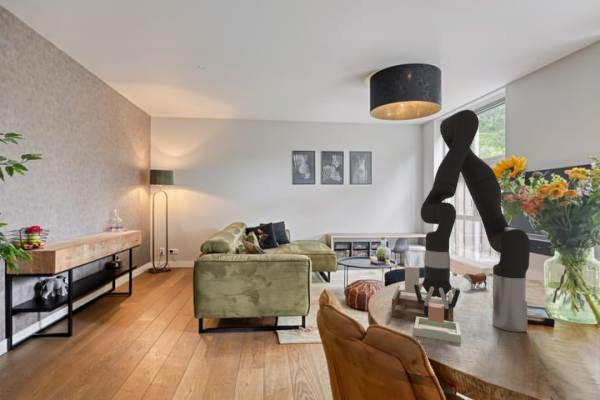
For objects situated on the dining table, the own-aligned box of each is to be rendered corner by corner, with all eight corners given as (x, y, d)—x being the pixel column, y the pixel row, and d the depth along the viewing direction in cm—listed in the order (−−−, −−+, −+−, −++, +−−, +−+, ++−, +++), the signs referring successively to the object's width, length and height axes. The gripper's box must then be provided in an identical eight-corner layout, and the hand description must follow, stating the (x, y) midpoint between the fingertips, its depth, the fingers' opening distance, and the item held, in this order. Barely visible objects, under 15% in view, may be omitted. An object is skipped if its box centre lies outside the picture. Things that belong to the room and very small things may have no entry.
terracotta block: (443, 318, 103) (444, 304, 103) (443, 323, 99) (444, 308, 99) (428, 316, 105) (429, 302, 105) (428, 320, 101) (428, 306, 101)
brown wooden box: (451, 308, 125) (451, 291, 125) (453, 326, 107) (453, 307, 107) (398, 301, 133) (398, 286, 133) (391, 317, 115) (391, 299, 115)
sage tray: (458, 329, 104) (458, 322, 104) (460, 343, 94) (460, 335, 94) (416, 323, 109) (416, 316, 109) (414, 335, 99) (414, 327, 99)
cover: (448, 291, 125) (448, 266, 125) (448, 297, 117) (448, 270, 117) (400, 286, 132) (401, 262, 132) (398, 291, 124) (398, 266, 124)
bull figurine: (460, 288, 156) (461, 271, 156) (482, 286, 160) (482, 270, 160) (468, 290, 152) (468, 273, 152) (489, 288, 156) (490, 271, 156)
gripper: (461, 264, 103) (460, 318, 102) (414, 260, 108) (413, 311, 108) (462, 269, 96) (461, 326, 96) (412, 264, 102) (411, 318, 101)
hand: (436, 318), depth 102 cm, fingers closed on terracotta block, 4 cm apart
